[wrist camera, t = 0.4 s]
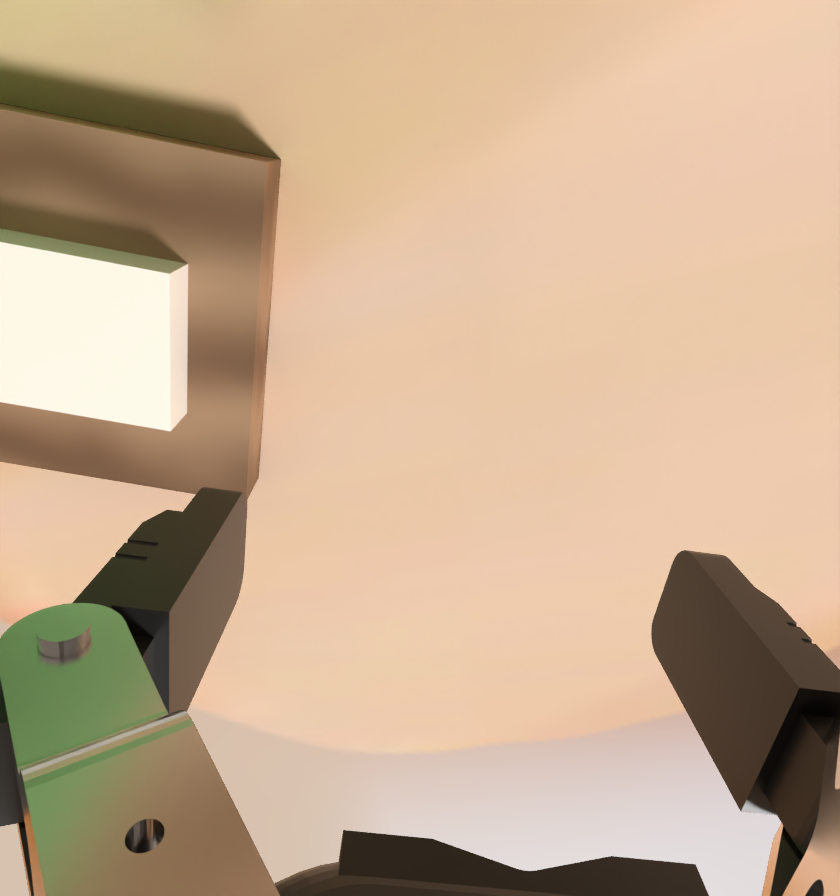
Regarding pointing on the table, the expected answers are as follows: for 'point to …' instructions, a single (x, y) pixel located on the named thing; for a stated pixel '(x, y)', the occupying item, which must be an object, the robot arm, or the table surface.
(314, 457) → the table surface
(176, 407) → the tile
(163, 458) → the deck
